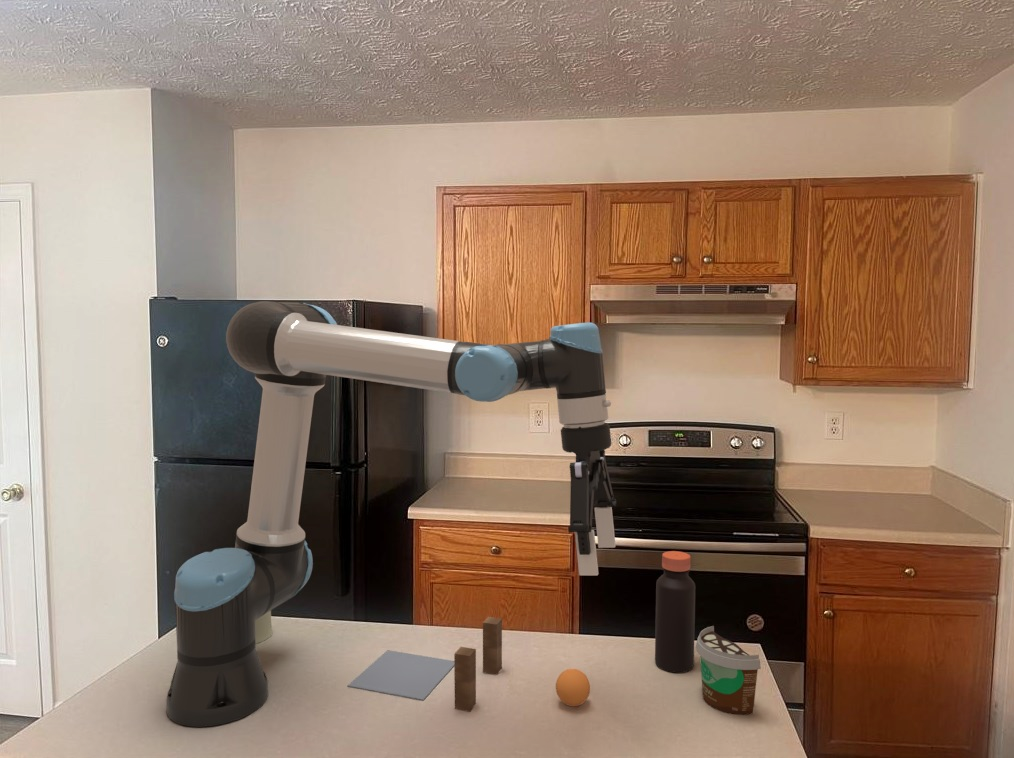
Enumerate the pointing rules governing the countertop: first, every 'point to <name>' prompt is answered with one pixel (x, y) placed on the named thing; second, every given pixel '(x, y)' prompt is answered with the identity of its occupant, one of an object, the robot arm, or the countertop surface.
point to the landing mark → (403, 675)
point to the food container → (727, 674)
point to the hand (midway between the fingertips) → (598, 560)
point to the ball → (572, 687)
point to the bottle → (675, 614)
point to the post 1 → (465, 678)
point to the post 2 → (492, 645)
